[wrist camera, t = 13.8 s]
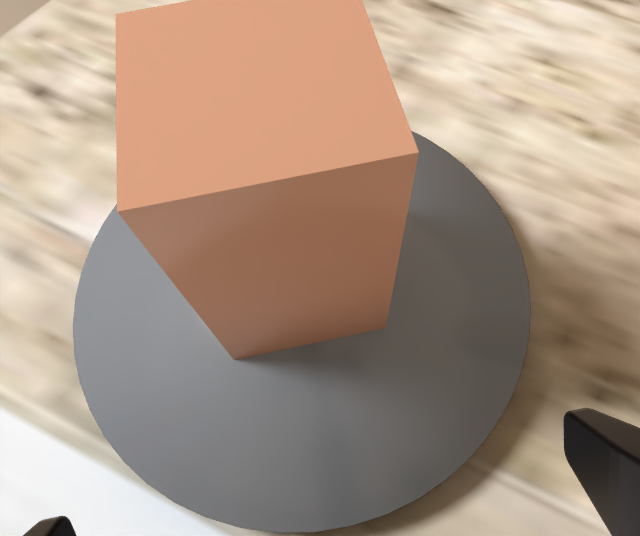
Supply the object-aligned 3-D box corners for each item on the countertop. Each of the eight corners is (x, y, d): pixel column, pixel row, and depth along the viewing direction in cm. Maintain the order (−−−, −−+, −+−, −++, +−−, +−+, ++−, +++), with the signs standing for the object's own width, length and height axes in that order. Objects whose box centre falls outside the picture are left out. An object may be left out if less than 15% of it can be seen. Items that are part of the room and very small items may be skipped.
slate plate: (602, 260, 20) (616, 246, 19) (325, 669, 15) (322, 682, 14) (285, 75, 26) (283, 57, 25) (3, 317, 21) (-16, 307, 20)
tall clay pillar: (350, 202, 21) (351, -29, 12) (385, 327, 18) (418, 152, 9) (218, 229, 21) (116, 14, 12) (233, 359, 18) (117, 211, 9)
